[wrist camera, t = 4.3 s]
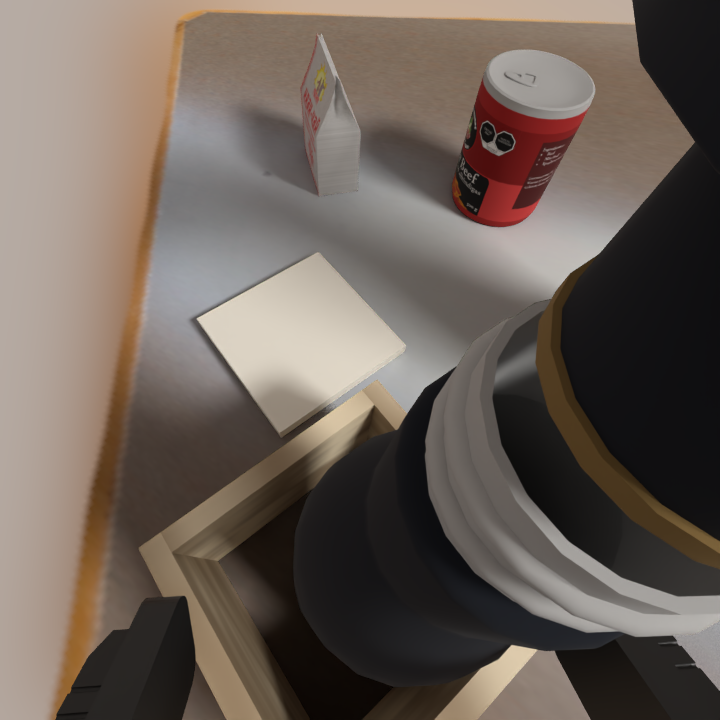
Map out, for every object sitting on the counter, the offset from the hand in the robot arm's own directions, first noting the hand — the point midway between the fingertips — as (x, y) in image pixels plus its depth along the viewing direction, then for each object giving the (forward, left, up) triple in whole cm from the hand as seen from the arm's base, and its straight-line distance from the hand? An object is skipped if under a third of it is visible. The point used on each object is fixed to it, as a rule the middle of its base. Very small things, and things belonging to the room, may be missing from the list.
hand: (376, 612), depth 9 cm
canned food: (-30, -18, -18) cm, 39 cm away
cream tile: (-7, -16, -17) cm, 24 cm away
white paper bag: (-20, -30, -18) cm, 40 cm away
